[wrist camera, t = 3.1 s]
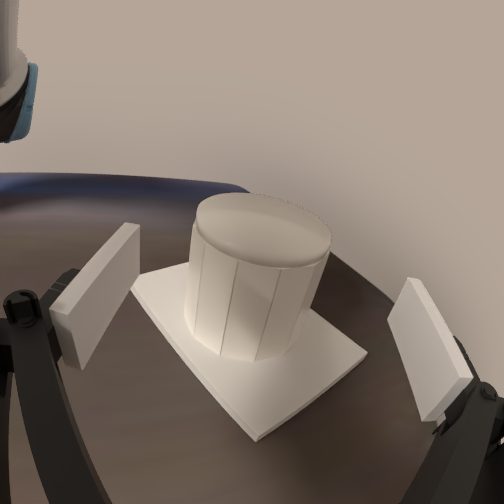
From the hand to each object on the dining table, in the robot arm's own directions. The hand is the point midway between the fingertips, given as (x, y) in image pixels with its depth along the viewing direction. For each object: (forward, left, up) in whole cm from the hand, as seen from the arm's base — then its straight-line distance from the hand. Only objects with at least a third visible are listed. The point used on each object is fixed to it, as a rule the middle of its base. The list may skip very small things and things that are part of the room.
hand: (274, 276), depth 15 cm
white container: (-7, +7, -12) cm, 15 cm away
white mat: (-7, +7, -13) cm, 16 cm away
